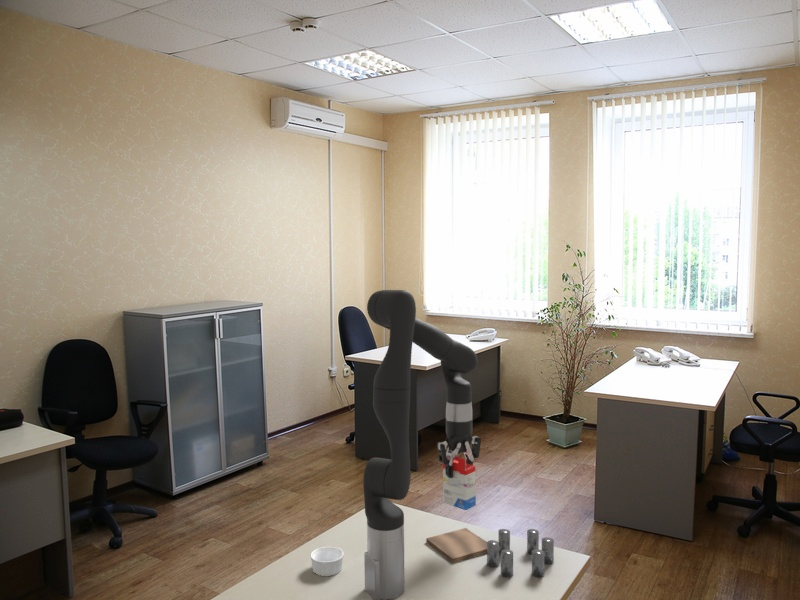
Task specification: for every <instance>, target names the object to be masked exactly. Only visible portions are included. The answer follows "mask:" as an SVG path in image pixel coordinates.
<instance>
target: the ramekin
mask: <svg viewBox="0 0 800 600" xmlns="http://www.w3.org/2000/svg"><path fill="white" fill-rule="evenodd" d="M344 555H345V554H344V550H342V548H340V547H335V546H322V547H318V548H316V549H314V550H313V551H312V552H311V553H310V559H311V560H310V561H311V569H312V571H313V573H314V574H315V573H316V574H315V575H317V574H318V575H317V576H320V575H321V576H320V577H332V576H336V575H337V574H339V573H340V572H341V571H342V569H343V561H344ZM331 575H332V576H331Z"/></svg>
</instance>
